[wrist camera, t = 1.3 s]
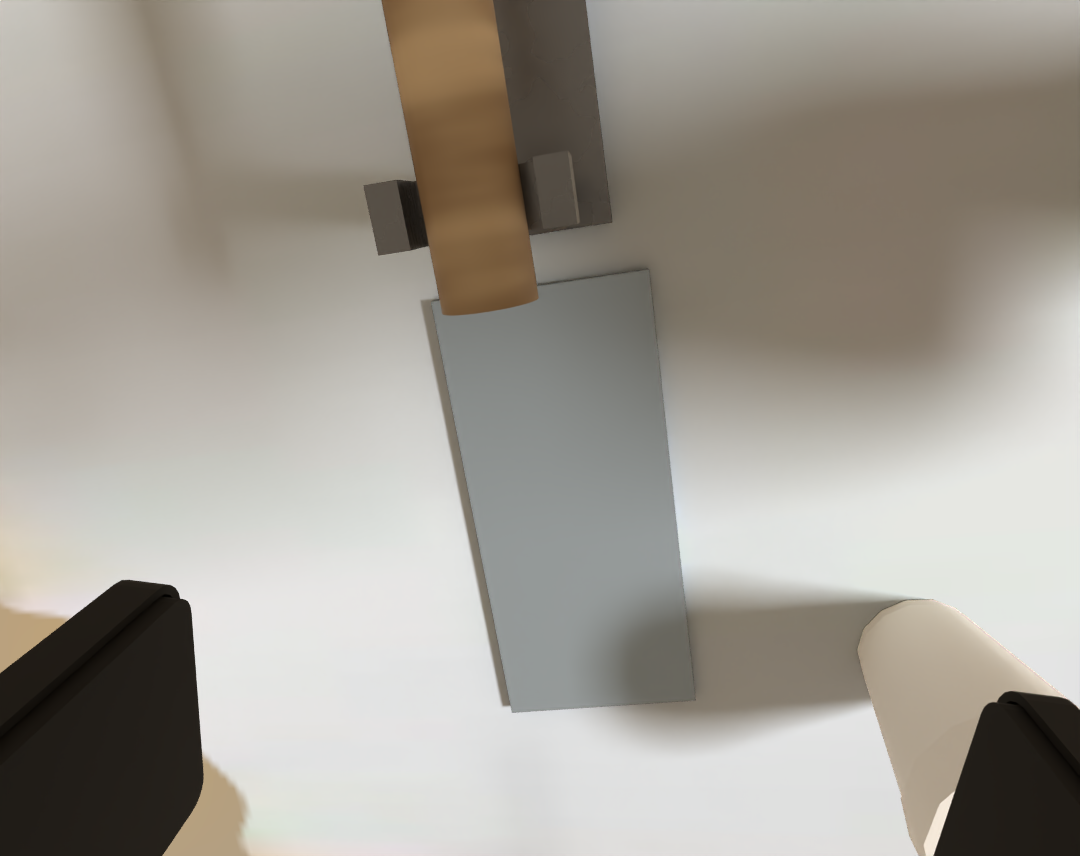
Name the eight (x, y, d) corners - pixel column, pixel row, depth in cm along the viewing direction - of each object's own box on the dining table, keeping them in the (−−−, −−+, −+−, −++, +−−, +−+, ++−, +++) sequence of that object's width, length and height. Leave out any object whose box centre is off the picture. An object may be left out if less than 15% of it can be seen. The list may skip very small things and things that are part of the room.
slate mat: (648, 268, 35) (649, 270, 35) (694, 693, 42) (695, 700, 42) (433, 300, 37) (431, 302, 36) (513, 706, 44) (511, 712, 43)
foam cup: (826, 717, 42) (916, 931, 30) (830, 578, 39) (931, 750, 27) (997, 715, 41) (1164, 936, 29) (1014, 571, 38) (1206, 747, 26)
